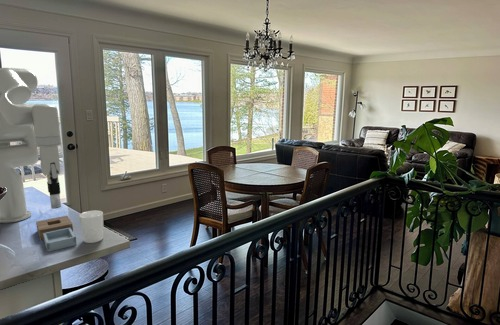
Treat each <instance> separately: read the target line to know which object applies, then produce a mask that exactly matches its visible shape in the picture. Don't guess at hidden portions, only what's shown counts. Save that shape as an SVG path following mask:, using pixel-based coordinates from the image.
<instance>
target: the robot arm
mask: <svg viewBox="0 0 500 325" xmlns="http://www.w3.org/2000/svg"><path fill="white" fill-rule="evenodd" d="M38 83H39V82H38V77H37V76H36V74H35V72H34V71H33V70H30V69H27V68H15V67H0V144H4V143H14V142H20V143H21V144H13V145H12V144H10V145H2V146H0V187H6V188H7V193H6V195H5V196H4V198H3V199H2V200H0V223H1V224H4V223H5V224H8V223H16V222H20V221H24V220H26V219H28V218H30V217H31V216H32V211H29V210H27V204H26V194H25V188H24V181H23V180H24V179H23V177H22V175H21V174H20V173H19V172H18V171H17V170H16V169H15V168H20V167H27V166H33V165H36V164H37V163H38V162H39V160H40V168H41V174H42V175H43V176H44V177H47V178H46V180H47V181H46V183H47V184H46V185H47V191H48V193H49V192H50V193H49V196H50V195H55V194H60V195H61V187H60V185H61V184H60V182H59V181H60V180H59V175H60V174H61V163H60V161H61V160H60V152H59V146H62V139H61V130H60V121H59V112H58V108H57V106H55V105H52V104H47V103H27V102H28V101H30V99H31V97H32V93H33V92H34V91H35V90H36V89H37V87H38ZM38 148H39V151H38ZM39 158H40V159H39ZM48 176H49V184H48Z"/></svg>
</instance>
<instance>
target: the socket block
mask: <svg viewBox="0 0 500 325" xmlns="http://www.w3.org/2000/svg"><path fill="white" fill-rule="evenodd" d="M35 223H36V225H35V226H36V231H37V232H36V233H37V234H38V238H39V240H40V241H44V238H43V233H46V232H51V231H56V230H60V229H65V228H71V230H72V231H73V232H74V226H73V223H72V220H71V218H69V216H68V215H63V216H57V217H53V218H52V217H51V218H46V219H42V220H36V221H35Z"/></svg>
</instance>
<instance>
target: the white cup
mask: <svg viewBox="0 0 500 325" xmlns="http://www.w3.org/2000/svg"><path fill="white" fill-rule="evenodd" d="M78 216H79V223H80V230H81V234H82V238H83V242H84V243H86V244H95V243H97V242H100V241H102V240H103V239H104V212H103V211H102V210H97V209H96V210H88V211H83V212H81V213H80V214H79V215H78Z"/></svg>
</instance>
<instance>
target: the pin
mask: <svg viewBox="0 0 500 325" xmlns="http://www.w3.org/2000/svg"><path fill="white" fill-rule="evenodd" d="M47 182H48V184H49V176H48V180H47ZM48 193H49V198H50V199H49V200H50V201H49V202H50V208H51V209H53V210H57V209H60V208H61V207H62V204H61V193H60V194H55V195H50V192H48Z"/></svg>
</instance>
